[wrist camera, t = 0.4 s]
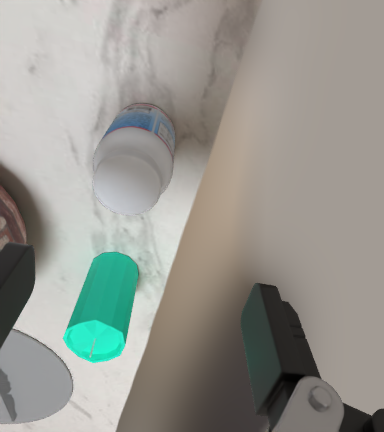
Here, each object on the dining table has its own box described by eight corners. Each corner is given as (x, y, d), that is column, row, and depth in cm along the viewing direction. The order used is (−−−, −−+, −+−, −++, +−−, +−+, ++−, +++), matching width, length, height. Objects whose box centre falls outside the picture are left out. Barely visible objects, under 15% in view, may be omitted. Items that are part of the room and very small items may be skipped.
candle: (136, 291, 43) (120, 378, 32) (89, 285, 42) (58, 372, 32) (140, 255, 40) (124, 340, 29) (90, 248, 39) (56, 332, 29)
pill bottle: (104, 147, 32) (68, 204, 23) (126, 89, 29) (97, 127, 20) (160, 173, 34) (149, 237, 24) (187, 120, 31) (186, 169, 21)
